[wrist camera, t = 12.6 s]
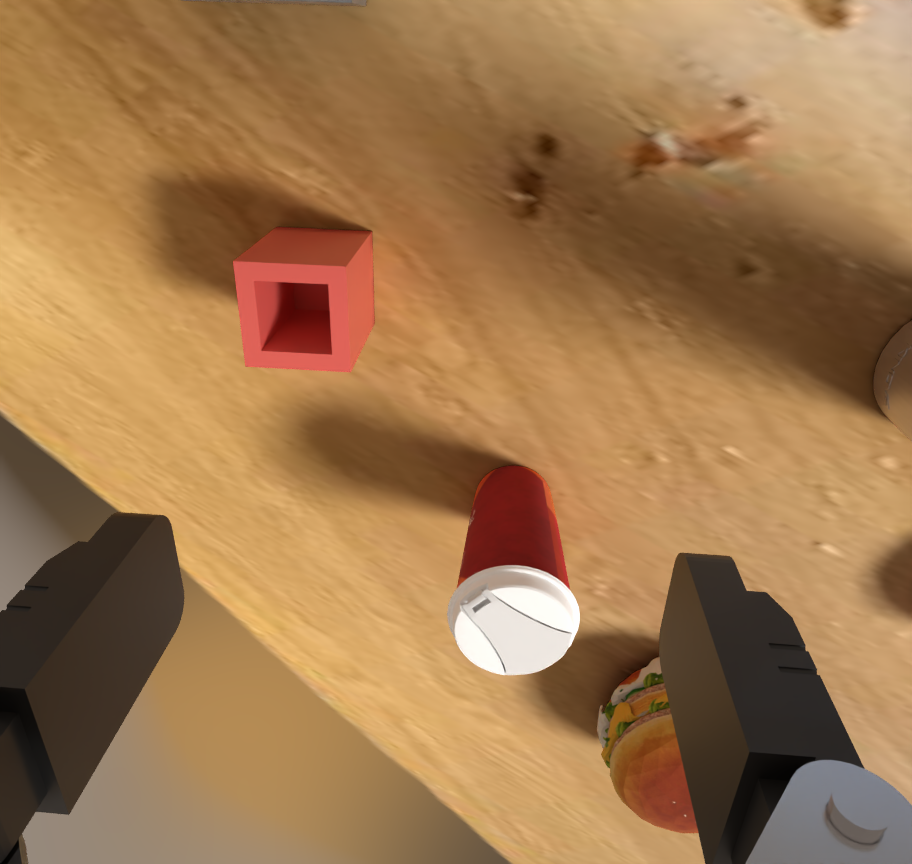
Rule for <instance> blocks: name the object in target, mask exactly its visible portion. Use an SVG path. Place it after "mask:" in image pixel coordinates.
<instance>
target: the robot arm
mask: <svg viewBox="0 0 912 864" xmlns="http://www.w3.org/2000/svg"><path fill="white" fill-rule="evenodd" d="M873 385H874V394H875V398H876V401H877V404H878V406H879V407H880V409H881V410H882V412H883V413H884V414H885V415H886V416H887V417H888V418H889V420H890V421H891V422H892V423H893V424H894V425H895V426H896V427H897V428H898V429H899V430H900V431H901V432H902V433H903V434H904V435H905V436H906V437H907V438H908V439H909V440H910V441H911V442H912V320H911V321H910V322H908V323H907V324H906V325H904V326H903V327H902V328H901V329H900V330H899V331H898V332H897V333H896V334H895V335H894V336H893V337H892V338H891V340H890V341H889V343H888V344H887V345H886V347H885V348H884V350H883V351H882V353H881V356H880V358H879V360H878V362H877V364H876V368H875V373H874V378H873ZM183 605H184V589H183V583H182V578H181V573H180V568H179V562H178V557H177V552H176V547H175V541H174V536H173V531H172V526H171V523H170V521H169V519H168V518H167V517H166V516H164V515H152V514H137V513H123V512H117V513H114V514H113V515H111V516H110V517H109V518H108V519H107V520H106V522H105V523H104V524H103V525H102V526H101V528H100V529H99V530H98V531H97V532H96V533H95V535H94V536H93V537H92V538H91V539H90V540H89V541H88V542H79V541H78V542H77V543H75V544H73V545H72V546H70V547H69V548H67V549H66V550H64V551H62V552H61V553H59V554H58V555H56V556H54V557H53V558H51V559H50V560H48V561H46V563H45V564H44V565H43V566H42V567H41V568H40V569H39V570H38V571H37V572H36V574H35V575H34V576H33V577H32V578H31V579H30V580H29V581H28V582H27V583H26V585H25V589H24V590H20V591H19V592H18V593H17V594H16V596H15V597H14V598H13V599H12V600H11V601H10V602H9V603H8V604H7V609H6V610H2V611H1V612H0V864H28V857H27V849H26V844H25V840H24V838H23V835H22V833H23V831H24V829H25V828H26V826H27V824H28V823H29V821H30V820H31V818H32V816H33V815H34V813H35V812H46V813H57V814H68V815H69V814H70V812H71V810H72V809H73V807H74V805H75V803H76V802H77V800H78V798H79V797H80V795H81V793H82V792H83V790H84V788H85V786H86V785H87V783H88V781H89V779H90V778H91V776H92V774H93V773H94V771H95V769H96V767H97V766H98V764H99V762H100V760H101V759H102V757H103V755H104V754H105V752H106V750H107V749H108V747H109V745H110V743H111V742H112V740H113V738H114V737H115V734H116V733H117V731H118V730H119V728H120V726H121V725H122V723H123V721H124V719H125V717H126V716H127V714H128V713H129V711H130V709H131V707H132V706H133V704H134V702H135V700H136V698H137V697H138V695H139V694H140V692H141V690H142V688H143V687H144V685H145V683H146V682H147V680H148V678H149V676H150V675H151V673H152V671H153V669H154V668H155V666H156V664H157V663H158V661H159V659H160V657H161V656H162V654H163V652H164V650H165V649H166V647H167V645H168V644H169V642H170V640H171V638H172V637H173V635H174V633H175V632H176V630H177V628H178V625H179V623H180V620H181V616H182V612H183ZM659 657H660V666H661V671H662V676H663V680H664V685H665V689H666V693H667V698H668V702H669V706H670V711H671V715H672V719H673V724H674V728H675V733H676V737H677V741H678V746H679V750H680V754H681V759H682V763H683V767H684V772H685V776H686V781H687V785H688V789H689V794H690V798H691V802H692V807H693V811H694V815H695V820H696V824H697V828H698V833H699V837H700V842H701V846H702V850H703V855H704V859H705V863H706V864H912V805H911V804H910V803H909V802H908V801H907V799H906V798H905V797H904V796H903V795H902V794H901V793H900V792H898V791H897V790H896V789H895V788H894V787H893V786H891V785H890V784H889V783H888V782H886V781H885V780H883V779H882V778H880V777H879V776H877V775H875V774H874V773H872V772H870V771H868V770H866V769H865V768H864V767H863V765H862V763H861V761H860V758H859V756H858V754H857V752H856V750H855V748H854V746H853V744H852V742H851V740H850V738H849V735H848V733H847V731H846V729H845V727H844V725H843V723H842V721H841V719H840V717H839V715H838V712H837V710H836V708H835V706H834V704H833V702H832V700H831V698H830V696H829V694H828V692H827V690H826V687H825V685H824V683H823V681H822V679H821V677H820V675H817V669H816V667H815V664H814V662H813V660H812V658H811V656H810V654H809V652H808V651H806V650H805V644H804V641H803V639H802V637H801V635H800V633H799V631H798V629H797V627H796V625H795V623H794V621H793V618H792V617H791V616H790V615H789V614H788V613H787V612H786V611H785V610H784V609H783V608H782V607H781V606H780V605H779V604H778V603H777V602H776V601H775V600H774V599H773V598H772V597H771V596H770V595H769V594H767V593H766V592H754V591H746V588H745V586H744V584H743V581H742V579H741V577H740V574H739V572H738V569H737V567H736V565H735V562H734V560H733V559H732V558H731V557H730V556H721V555H707V554H692V553H679V554H678V556H677V558H676V560H675V564H674V568H673V573H672V577H671V582H670V587H669V591H668V596H667V600H666V605H665V610H664V614H663V619H662V623H661V629H660V637H659Z"/></svg>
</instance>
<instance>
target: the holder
mask: <svg viewBox="0 0 912 864" xmlns="http://www.w3.org/2000/svg"><path fill="white" fill-rule="evenodd" d="M183 1H211V2H244V3H276V4H309V5H341V6H366V0H183Z"/></svg>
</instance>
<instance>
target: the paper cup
mask: <svg viewBox="0 0 912 864" xmlns="http://www.w3.org/2000/svg"><path fill="white" fill-rule="evenodd" d="M447 616H448V623H449V627H450V630H451V632H452V634H453V636H454V637H455V640H456V643H457V645H458V647H459V648H460V650H461V651H462V652H463V654H464V655H465V656H466V657H467V658H468V659H469V660H470V661H471V662H473V663H474V664H476V665H477V666H479V667H481V668H483V669H485V670H487V671H490V672H493V673H497V674H501V675H522V674H530V673H535V672H538V671H541V670H543V669H545V668H547V667H549V666H551V665H552V664H554V663H555V662H556V661H558V660H559V659H560V658H562V657H563V656H564V654H565V653H566V651H567V649H568V648H569V647H570V646H571V644H572V642H573V639H574V637H575V635H576V632H577V630H578V626H579V622H580V613H579V607H578V604H577V601H576V599H575V597H574V595H573V594H572V592H571V591H570V588H569V582H568V577H567V572H566V566H565V561H564V556H563V550H562V545H561V540H560V535H559V529H558V524H557V519H556V514H555V509H554V505H553V500H552V496H551V492H550V489H549V487H548V485H547V483H546V481H545V480H544V479H543V478H542V477H541V476H540V475H539V474H538V473H537V472H535V471H533V470H531V469H529V468H526V467H522V466H514V465H512V466H503V467H500V468H497V469H495V470H493V471H491V472H489V473H488V474H487V475H486V476H485V477H484V478H483V479H482V480H481V482H480V483H479V485H478V487H477V490H476V494H475V497H474V502H473V506H472V511H471V516H470V521H469V527H468V532H467V537H466V542H465V548H464V553H463V559H462V564H461V569H460V575H459V580H458V585H457V589H456V590H455V592H454V593H453V595H452V597H451V599H450V602H449V605H448V613H447Z"/></svg>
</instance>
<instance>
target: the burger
mask: <svg viewBox="0 0 912 864" xmlns="http://www.w3.org/2000/svg"><path fill="white" fill-rule="evenodd" d="M602 709H603V705H600V709H599V716H598V725H597V732H598V736H599V740H600V743H601V745H602V747H603V748H604V749H603V751H602V754H601V755H602V757H603V759H604V761H605V763H606V765H607V766H608V767H609V768H610V777H611V779H612V782H613V785H614V788H615V790H616V792H617V794H618V795H619V797H620V798H621V800H622V801H623V803H625V804H626V805H627V806H628V807H629V808H630V809H631V810H632V811H633V812H634V813H636V814H637V815H638V816H639V817H640V818H641V819H643V820H645V821H647V822H649V823H651V824H652V825H654V826H657V827H661V828H664V829H667V830H671V831H675V832H680V833H698V828H697V824H696V820H695V815H694V811H693V807H692V802H691V798H690V794H689V789H688V785H687V781H686V776H685V772H684V767H683V763H682V759H681V754H680V750H679V746H678V741H677V737H676V733H675V728H674V724H673V719H672V715H671V711H670V706H669V702H668V698H667V693H666V689H665V685H664V680H663V676H662V671H661V666H660V657H657V658H655V659H653V660H652V661H651V662H650V663H649V665H648V666H647V667H644V668H642V669H640V670H638V671H636V672H634V673H633V674H631V675H630V676H629V677H628V678H626V679H625V680H624V681H623V682H621V683H620V684H619V686H618V687H617V689H616V690H615V691H614V693H613V695H612V697H611V699H610V701H609V703H608V704H607V706H606V708H605V712H604V711H603V712H602Z"/></svg>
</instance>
